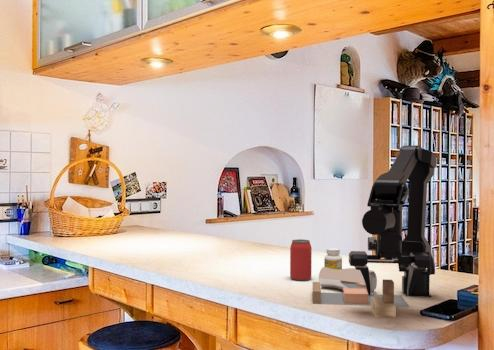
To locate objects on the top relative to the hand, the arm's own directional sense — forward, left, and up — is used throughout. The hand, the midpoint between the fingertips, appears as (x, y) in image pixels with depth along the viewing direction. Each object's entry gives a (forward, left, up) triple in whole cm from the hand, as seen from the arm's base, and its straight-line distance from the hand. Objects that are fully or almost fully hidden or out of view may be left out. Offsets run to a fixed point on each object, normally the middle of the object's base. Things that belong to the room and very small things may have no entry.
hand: (388, 295), depth 127 cm
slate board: (+6, -11, -4) cm, 14 cm away
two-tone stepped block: (+1, 0, -5) cm, 5 cm away
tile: (+7, -10, -4) cm, 13 cm away
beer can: (+22, -36, -5) cm, 42 cm away
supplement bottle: (+12, -36, -5) cm, 38 cm away
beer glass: (+15, -25, -1) cm, 29 cm away
